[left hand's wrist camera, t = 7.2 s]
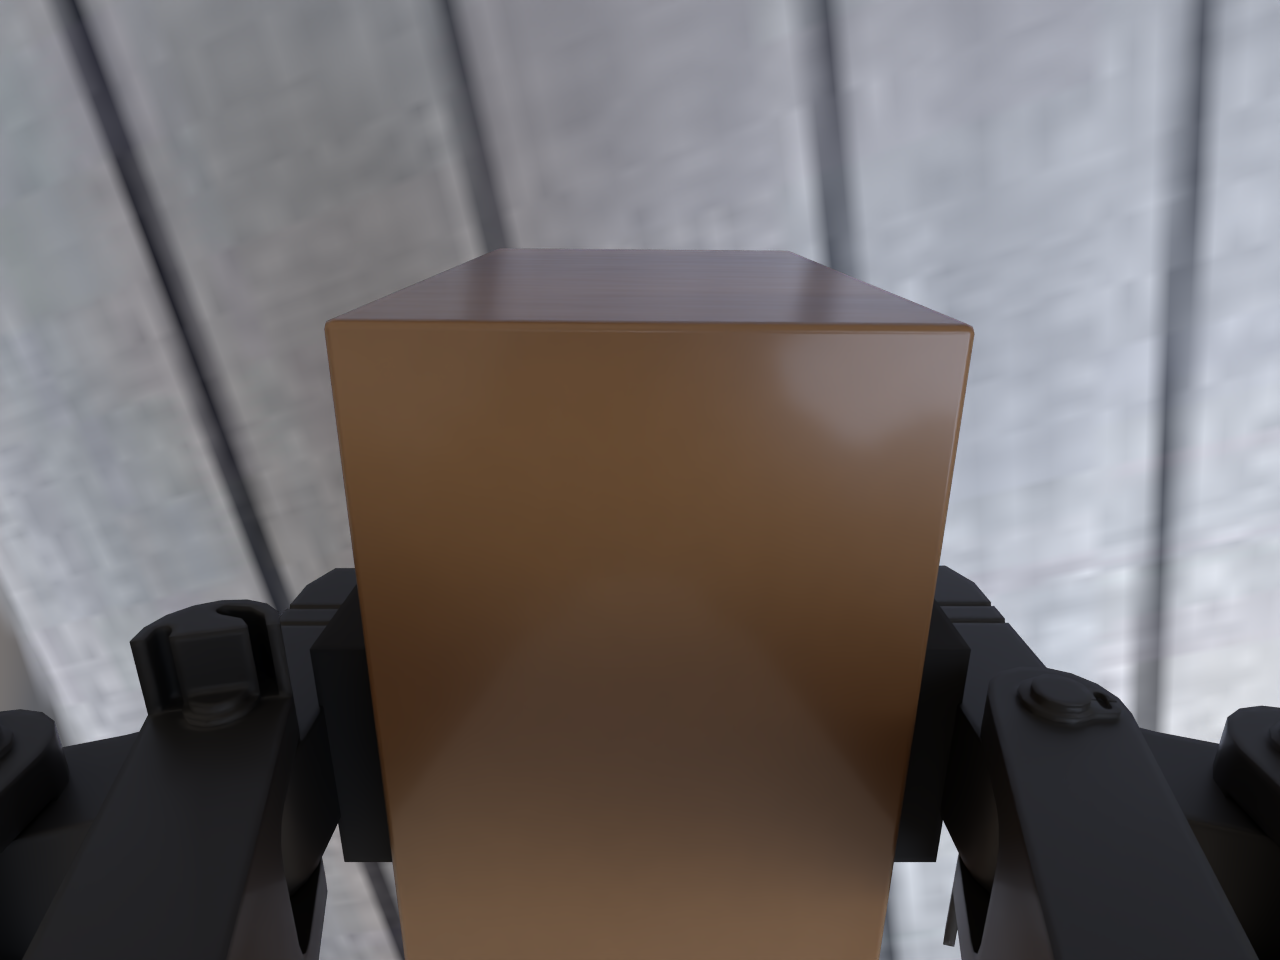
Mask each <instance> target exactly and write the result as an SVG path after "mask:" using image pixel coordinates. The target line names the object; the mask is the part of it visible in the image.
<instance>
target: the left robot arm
mask: <svg viewBox="0 0 1280 960" xmlns="http://www.w3.org/2000/svg"><path fill="white" fill-rule="evenodd" d="M130 645H131V649H132V653H133V657H134V661H135V665H136V669H137V673H138V677H139V681H140V685H141V689H142V693H143V696H144V700H145V704H146V708H147V712H148V716H147V718H146V720H145V722H144V724H143V726H142V728H141V730H140V732H136V733H132V734H128V735H124V736H119V737H114V738H108V739H103V740H98V741H93V742H88V743H82V744H77V745H72V746H67V747H62V744H61V741H60V738H59V735H58V731H57V728H56V725H55V722H54V721H53V720H52V719H51V718H49V717H48V716H47V715H45V714H44V713H43V712H37V711H29V710H21V709H19V710H10V711H1V712H0V960H319V952H320V945H321V937H322V929H323V922H324V914H325V906H326V899H327V885H326V878H325V871H324V866H323V860H322V856H323V853H324V851H325V849H326V847H327V845H328V843H329V841H330V839H331V837H332V835H333V832H334V830H335V828H336V826H337V824H338V825H339V831H340V837H341V843H342V849H343V855H344V861H345V862H392V854H391V846H390V838H389V830H388V822H387V815H386V807H385V799H384V791H383V783H382V776H381V768H380V760H379V752H378V744H377V737H376V729H375V721H374V713H373V705H372V697H371V690H370V682H369V674H368V666H367V658H366V651H365V643H364V635H363V627H362V619H361V612H360V604H359V596H358V588H357V580H356V572H355V568H335V569H334V570H332V571H330V572H328V573H327V574H325V575H323V576H322V577H320V578H318V579H317V580H315V581H313V582H312V583H310V584H308V585H307V586H306V587H305V588H304V589H303V590H302V592H301V593H300V594H299V595H298V596H297V598H296V599H295V600H294V601H293V602H292V603H291V605H290V609H286V611H285V612H284V613H283V614H282V615H281V617H280V618H279V612H278V611H277V610H275V609H274V608H272V607H271V606H270V605H268V604H267V603H262V602H257V601H252V600H221V601H215V602H210V603H205V604H200V605H194V606H191V607H188V608H185V609H183V610H180V611H177V612H174V613H171V614H168V615H166V616H164V617H162V618H160V619H159V620H157V621H155V622H153V623H151V624H150V625H148V626H146V627H144V628H143V629H142V630H141V631H140V632H139V633H138V634H137V635H136V636H135V637H134V638H133V639H132V640H131V641H130ZM943 821H944V823H945V825H946V827H947V829H948V831H949V834H950V836H951V838H952V840H953V842H954V844H955V846H956V848H957V850H958V852H959V855H958V860H957V866H956V871H955V877H954V883H953V888H952V894H951V900H950V905H949V911H948V917H947V922H946V928H945V935H944V942H943V944H944V945H948V946H953V947H954V945H955V939H956V934H957V930H958V935H959V943H960V950H961V958H962V960H1280V708H1277V707H1269V706H1256V707H1248V708H1240V709H1238V710H1237V711H1236V712H1234V713H1233V714H1231V715H1230V716H1229V717H1227V721H1226V724H1225V727H1224V730H1223V734H1222V737H1221V740H1220V744H1217V743H1212V742H1207V741H1201V740H1196V739H1191V738H1186V737H1181V736H1175V735H1170V734H1165V733H1160V732H1155V731H1151V730H1147V729H1143V728H1139V726H1138V724H1137V723H1136V721H1135V719H1134V717H1133V715H1132V713H1131V712H1130V711H1129V710H1128V709H1127V707H1126V706H1125V705H1124V704H1123V703H1122V701H1121V700H1120V699H1119V698H1118V697H1116V696H1115V695H1113V694H1112V693H1110V692H1109V691H1107V690H1106V689H1104V688H1103V687H1101V686H1100V685H1098V684H1096V683H1094V682H1091V681H1089V680H1086V679H1084V678H1081V677H1079V676H1077V675H1074V674H1072V673H1067V672H1063V671H1058V670H1054V669H1049V668H1046V667H1045V665H1044V664H1043V663H1042V662H1041V661H1040V660H1039V658H1038V657H1037V656H1036V655H1035V654H1034V653H1033V651H1032V650H1031V649H1030V648H1029V647H1028V645H1027V644H1026V643H1025V642H1024V641H1023V640H1022V638H1021V637H1020V636H1019V635H1018V634H1017V632H1016V631H1015V630H1014V629H1013V628H1012V627H1011V625H1010V624H1009V623H1005V618H1004V617H1003V616H1002V615H1001V614H1000V612H999V611H998V610H997V609H996V608H995V607H994V606H991V602H990V601H989V600H988V598H987V597H986V596H985V595H984V594H983V592H982V591H981V590H980V589H979V588H978V587H977V585H976V584H975V583H974V582H972V581H971V580H969V579H967V578H965V577H964V576H962V575H960V574H959V573H957V572H955V571H953V570H952V569H950V568H948V567H947V566H939V569H938V575H937V582H936V588H935V595H934V601H933V608H932V615H931V621H930V628H929V634H928V641H927V647H926V654H925V660H924V667H923V674H922V680H921V687H920V693H919V700H918V706H917V713H916V719H915V726H914V733H913V739H912V746H911V752H910V759H909V765H908V772H907V778H906V785H905V791H904V798H903V805H902V811H901V818H900V824H899V831H898V837H897V844H896V850H895V857H894V862H936V859H937V852H938V846H939V840H940V834H941V828H942V822H943Z"/></svg>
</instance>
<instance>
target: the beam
mask: <svg viewBox="0 0 1280 960" xmlns="http://www.w3.org/2000/svg"><path fill="white" fill-rule="evenodd" d="M324 330H325V338H326V346H327V354H328V361H329V369H330V377H331V385H332V393H333V401H334V408H335V416H336V424H337V432H338V440H339V447H340V455H341V463H342V471H343V479H344V487H345V494H346V502H347V510H348V518H349V526H350V533H351V541H352V549H353V557H354V565H355V572H356V580H357V588H358V596H359V604H360V612H361V619H362V627H363V635H364V643H365V651H366V658H367V666H368V674H369V682H370V690H371V697H372V705H373V713H374V721H375V729H376V737H377V744H378V752H379V760H380V768H381V776H382V783H383V791H384V799H385V807H386V815H387V822H388V830H389V838H390V846H391V854H392V862H393V869H394V877H395V885H396V893H397V901H398V908H399V916H400V924H401V932H402V940H403V948H404V955H405V960H879V955H880V949H881V942H882V936H883V929H884V923H885V916H886V909H887V903H888V896H889V890H890V883H891V877H892V870H893V864H894V857H895V850H896V844H897V837H898V831H899V824H900V818H901V811H902V805H903V798H904V791H905V785H906V778H907V772H908V765H909V759H910V752H911V746H912V739H913V733H914V726H915V719H916V713H917V706H918V700H919V693H920V687H921V680H922V674H923V667H924V660H925V654H926V647H927V641H928V634H929V628H930V621H931V615H932V608H933V601H934V595H935V588H936V582H937V575H938V569H939V562H940V556H941V549H942V543H943V536H944V529H945V523H946V516H947V510H948V503H949V497H950V490H951V484H952V477H953V470H954V464H955V457H956V451H957V444H958V438H959V431H960V425H961V418H962V412H963V405H964V398H965V392H966V385H967V379H968V372H969V366H970V359H971V353H972V346H973V339H974V330H973V327H972V326H970V325H968V324H966V323H963V322H961V321H958V320H956V319H954V318H951V317H949V316H946V315H944V314H941V313H939V312H936V311H934V310H932V309H929V308H927V307H924V306H922V305H919V304H917V303H914V302H912V301H910V300H907V299H905V298H902V297H900V296H897V295H895V294H892V293H890V292H888V291H885V290H883V289H880V288H878V287H875V286H873V285H870V284H868V283H865V282H863V281H861V280H858V279H856V278H853V277H851V276H848V275H846V274H843V273H841V272H839V271H836V270H834V269H831V268H829V267H826V266H824V265H821V264H819V263H817V262H814V261H812V260H809V259H807V258H804V257H802V256H799V255H797V254H795V253H792V252H790V251H742V250H622V249H502V248H499V249H497V250H494V251H492V252H490V253H487V254H485V255H482V256H480V257H478V258H475V259H473V260H471V261H468V262H466V263H463V264H461V265H459V266H456V267H454V268H452V269H449V270H447V271H444V272H442V273H440V274H437V275H435V276H433V277H430V278H428V279H425V280H423V281H421V282H418V283H416V284H414V285H411V286H409V287H407V288H404V289H402V290H399V291H397V292H395V293H392V294H390V295H388V296H385V297H383V298H380V299H378V300H376V301H373V302H371V303H369V304H366V305H364V306H361V307H359V308H357V309H354V310H352V311H350V312H347V313H345V314H343V315H340V316H338V317H335V318H333V319H331V320H328V321H326V324H325V328H324Z"/></svg>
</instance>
